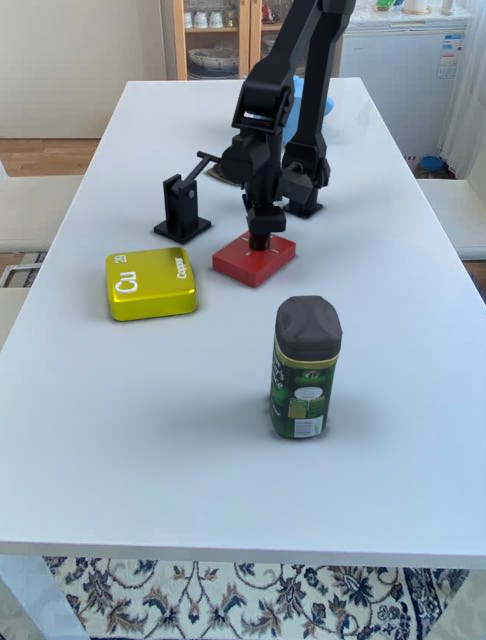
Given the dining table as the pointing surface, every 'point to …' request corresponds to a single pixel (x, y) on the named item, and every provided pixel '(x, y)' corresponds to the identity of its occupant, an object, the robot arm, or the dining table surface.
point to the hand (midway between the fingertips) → (259, 242)
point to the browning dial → (254, 246)
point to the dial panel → (253, 259)
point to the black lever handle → (195, 171)
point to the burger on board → (219, 173)
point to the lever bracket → (181, 213)
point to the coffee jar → (303, 365)
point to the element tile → (150, 284)
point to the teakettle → (298, 110)
